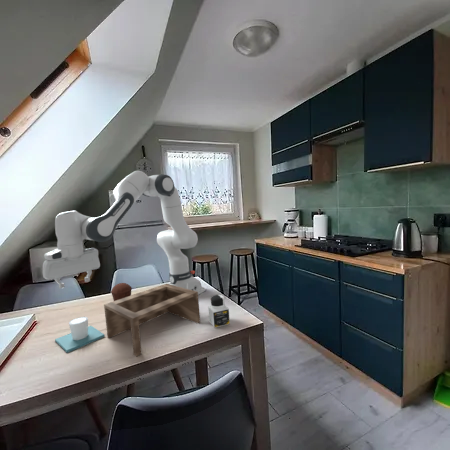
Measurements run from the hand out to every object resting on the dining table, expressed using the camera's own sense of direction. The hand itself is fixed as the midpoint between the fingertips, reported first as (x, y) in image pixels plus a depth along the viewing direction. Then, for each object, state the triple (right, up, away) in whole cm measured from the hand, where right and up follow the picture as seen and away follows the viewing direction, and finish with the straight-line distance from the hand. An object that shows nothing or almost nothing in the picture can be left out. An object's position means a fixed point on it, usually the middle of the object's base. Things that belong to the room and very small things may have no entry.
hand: (75, 284), depth 103 cm
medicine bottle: (+59, -19, +8) cm, 62 cm away
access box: (+31, -21, +5) cm, 38 cm away
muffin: (+2, -20, +43) cm, 47 cm away
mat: (+1, -23, +1) cm, 23 cm away
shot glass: (+1, -22, +1) cm, 22 cm away
